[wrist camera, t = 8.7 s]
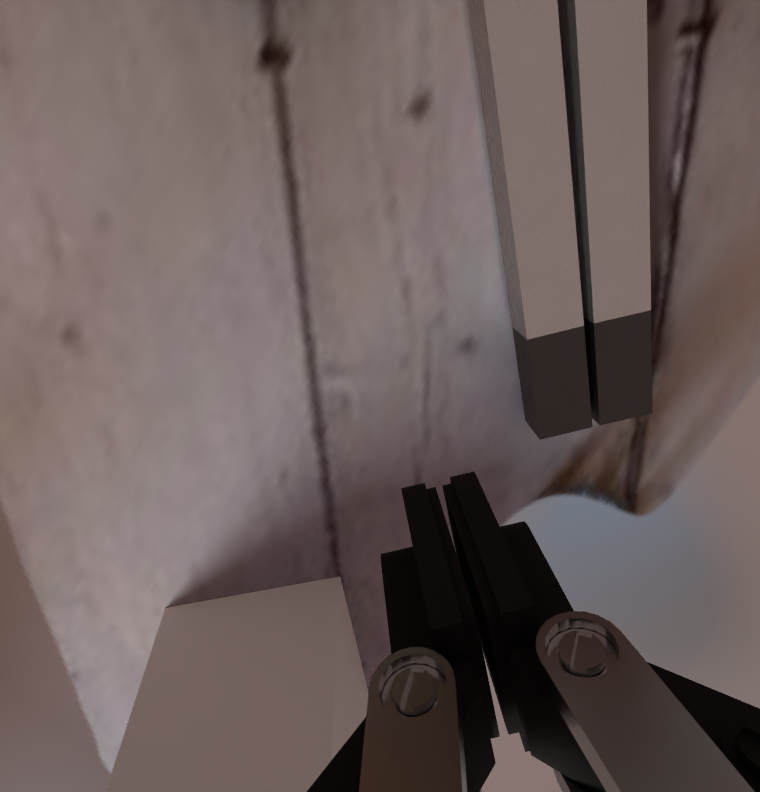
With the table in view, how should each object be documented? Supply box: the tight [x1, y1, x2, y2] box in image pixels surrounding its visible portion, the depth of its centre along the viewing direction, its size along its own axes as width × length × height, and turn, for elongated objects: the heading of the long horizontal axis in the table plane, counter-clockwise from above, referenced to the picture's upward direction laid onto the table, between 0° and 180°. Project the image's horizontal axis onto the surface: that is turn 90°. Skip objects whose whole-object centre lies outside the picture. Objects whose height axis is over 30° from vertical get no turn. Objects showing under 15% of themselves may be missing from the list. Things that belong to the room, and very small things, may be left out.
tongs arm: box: [467, 0, 592, 439], centre depth 26 cm, size 26×5×2 cm, turn 13°
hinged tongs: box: [557, 0, 652, 425], centre depth 25 cm, size 30×7×3 cm, turn 12°
